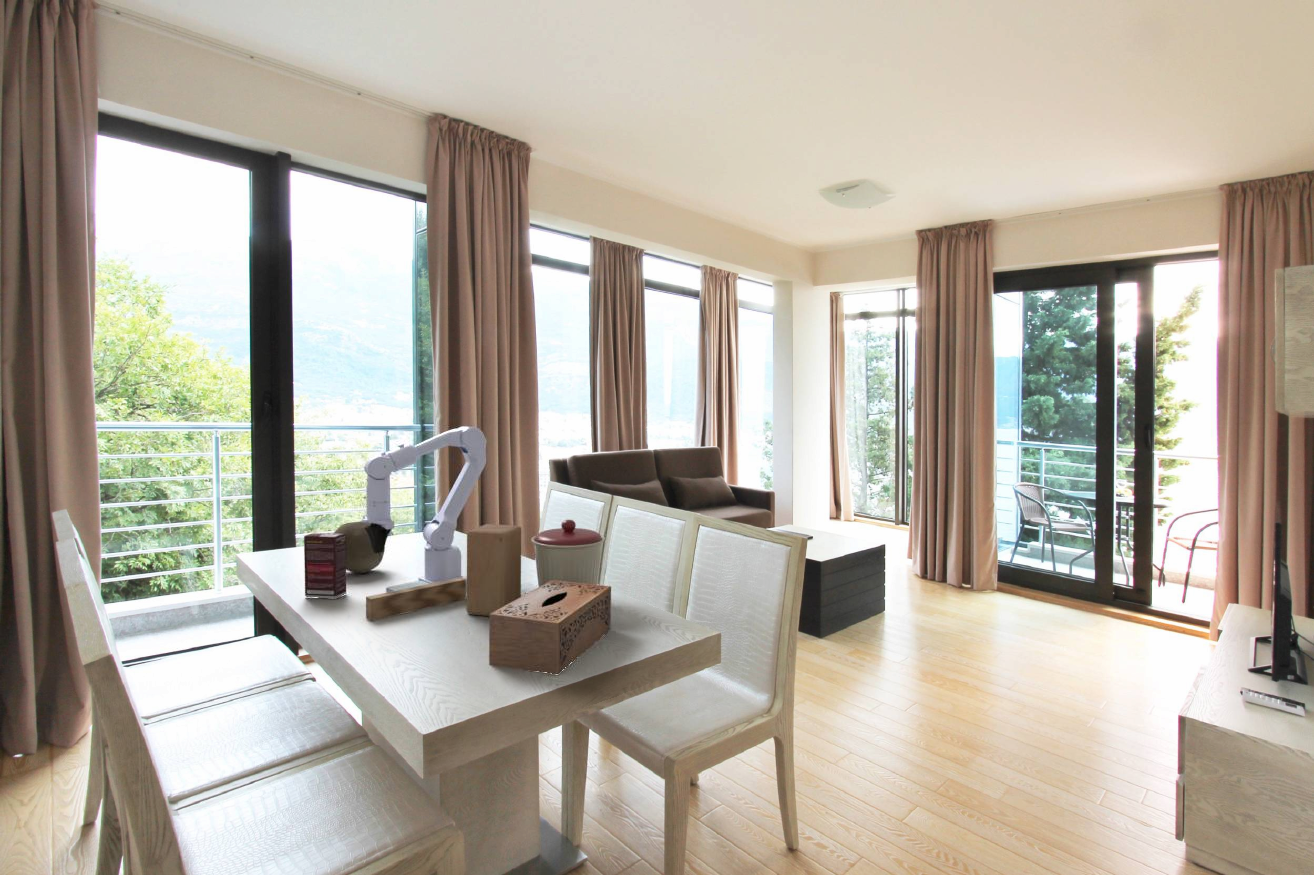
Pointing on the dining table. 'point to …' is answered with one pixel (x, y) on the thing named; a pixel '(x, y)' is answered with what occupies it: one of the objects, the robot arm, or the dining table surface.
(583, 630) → the tissue box cover
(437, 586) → the board
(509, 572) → the wooden block
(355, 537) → the cantaloupe
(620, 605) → the dining table surface
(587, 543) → the canister
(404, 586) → the block
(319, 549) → the supplement box
